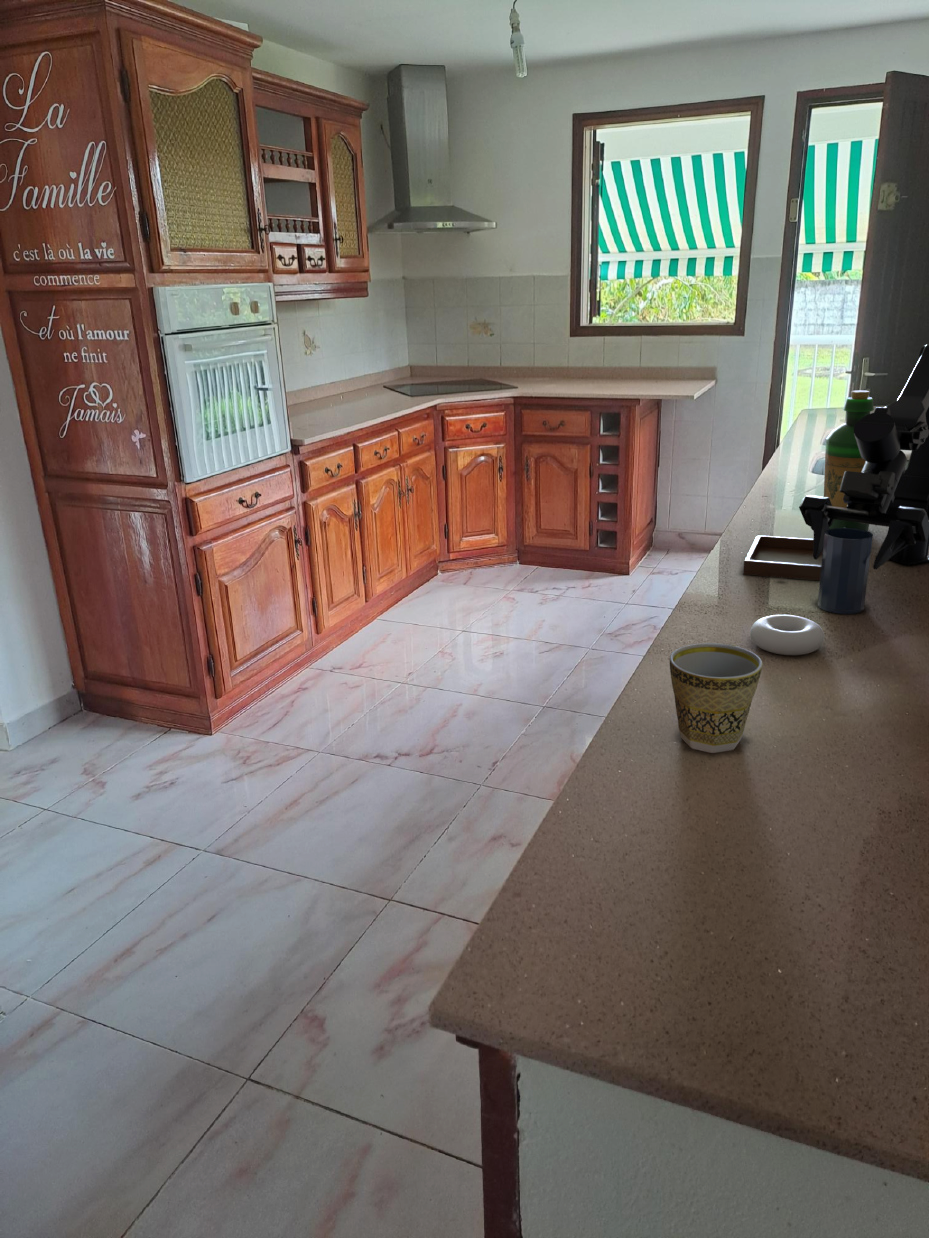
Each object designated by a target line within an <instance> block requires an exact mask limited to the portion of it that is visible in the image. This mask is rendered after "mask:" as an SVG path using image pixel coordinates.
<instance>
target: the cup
mask: <svg viewBox="0 0 929 1238" xmlns="http://www.w3.org/2000/svg"><path fill="white" fill-rule="evenodd" d="M873 538H874V534H873V532H871V531H869V530H868V531H865V530H861V529H854V528H835V529H829V530H827V531H825V537H824V546H823V556H822V566H821V575H820V581H819V586H818V595H817V596H818V597H817V607H818V608H819V609H821V610H823V611H825V612H828V613H833V614H839V615H840V614H841V615H852V614H858V613H861V612H863V611H864V609H865V604H866V596H867V593H866V592H867V589H868V588H867V587H868V579H869V572H870V571H869V569H870V562H871V556H872V555H871V554H872V545H873Z"/></svg>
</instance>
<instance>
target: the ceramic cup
mask: <svg viewBox="0 0 929 1238" xmlns="http://www.w3.org/2000/svg"><path fill="white" fill-rule="evenodd" d="M668 660H669V673H670V679H671V685H672V692H673V696H674V706H675V710H676V717H677V726H678V731H679V736H680V738H681V739H682V740H683V742H684V743H686V745H688V747H689V748H690V749H692V750H697V751H701V752H705V753H709V754H710V753H711V754H716V753H723V752H728V751H729V752H730V751H734V749H735V748H736V747H738V745H739V743H740V741H741V740H742V738H743V734H744V731H745V728H746V723H747V720H748V717H749V713H750V710H751V705H752V701H753V698H754V697H755V693H756V691H757V688H758V684H759V681H760V678H761V674H762V669H763V661H762V659H761V658H760V657H759V655H757V654H756V653H755V652H752V651H750V650H748V649H746V648H743V647H740V646H738V645H737V644H734V643H729V644H725V643H718V642H717V643H716V642H701V643H693V644H688V645H684V646H681V647H679V648H677V649H675V650H674V651H672V652H671V653H670V656H669V659H668Z"/></svg>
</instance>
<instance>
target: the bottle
mask: <svg viewBox="0 0 929 1238" xmlns="http://www.w3.org/2000/svg"><path fill="white" fill-rule="evenodd" d="M850 393H851V394H850V395H851V396H849V397H847V398H846V399H845V403H844V406H843V409H842V410H843V411H844V412H845V423H842V424H841V425H839V426H837V427H836V428H834V429H833V430H831V432H830V433H829V434H828V435H827V437H826V438H825V452H824V453H825V454H824V456H825V458H824V459H825V460H824V476H823V477H824V478H823V480H824V481H823V497H829V498H830V501H831V504H832V506H834V507H842V508H847V505H848V504H847V503H844V501H843V497H844V495H845V494H844V493H843V492H840V487H841V484H842V480H843V476H844V472H845V471H852V472H862V470H863V467H864V465H865V463H866V461H865V460H864V459H862V457H861V454H860V451H859V448H858V445H857V441H856V438H855V435H854V426H855V424H856V422H858V421H859V420H860V419H861V418H862V417H864V416H866V415H868V414H871V412H874V411H875V407H874V398H873V397H870V396H869V395H870V390H864V389H862V390H856V389H855V390H851V391H850ZM869 527H870V524H864V523H859V522H852V521H844V520H837V519H834V521H833V523H832V525H831V526H829V528H830V529H835V528H854V529H861V530H865V531H868V532H869Z"/></svg>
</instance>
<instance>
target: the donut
mask: <svg viewBox="0 0 929 1238" xmlns="http://www.w3.org/2000/svg"><path fill="white" fill-rule="evenodd" d="M749 634H750V637H751V640H752V642H753V643H754V644H755V645H756V646H757V647H758V648H759V649H762V650H763V651H766V652H768V653H772V654H776V655H782V656H801V655H802V656H803V655H808V654H811V653H814V652H815V651H817V650H819V648H821V647H822V645H823V643H824V640H825V632H824V631H823V629H822V627H821V626H820V625H819V624H818V623H817V622H815V621H813V620H811V619H809V618H806V617H803V616H798V615H793V614H773V615H767V616H763V617H761V618H759V619H757V620H756V621H755V622H754V623H753V624H752V626H751V628H750V631H749Z"/></svg>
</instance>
